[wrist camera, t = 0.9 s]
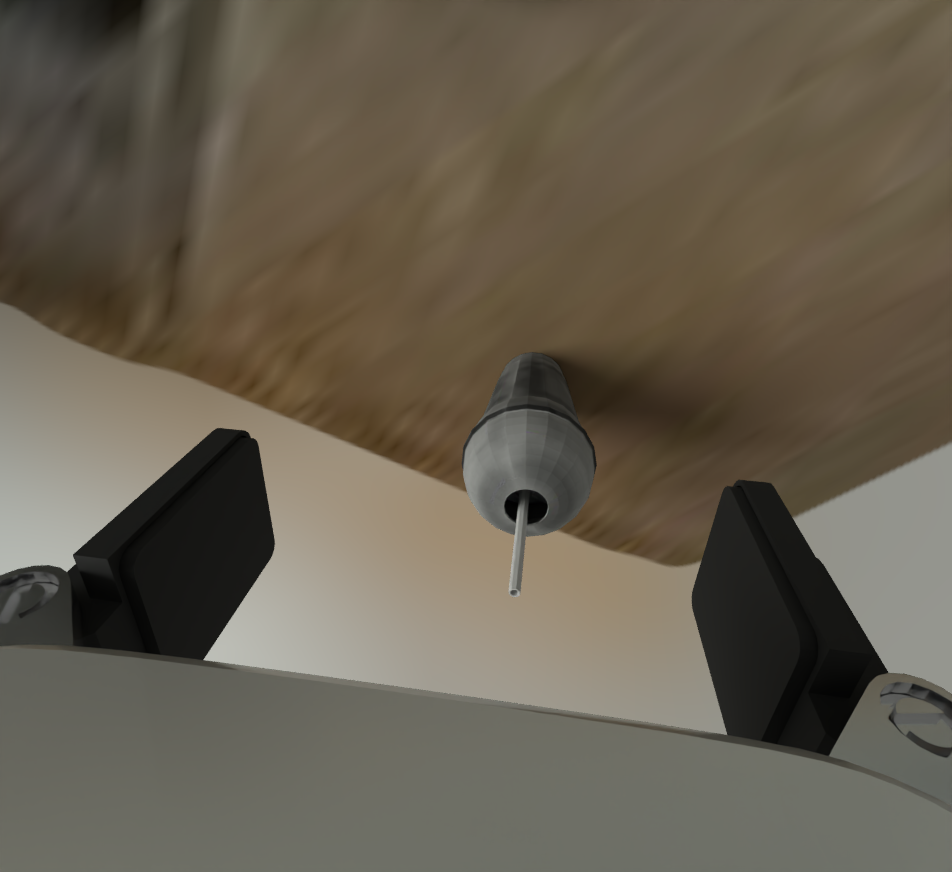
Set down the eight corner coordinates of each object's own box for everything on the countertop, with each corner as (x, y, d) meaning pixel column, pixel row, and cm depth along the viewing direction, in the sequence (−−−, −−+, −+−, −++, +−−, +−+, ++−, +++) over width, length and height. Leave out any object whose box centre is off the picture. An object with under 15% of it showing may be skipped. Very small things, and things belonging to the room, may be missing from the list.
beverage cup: (598, 350, 39) (642, 529, 22) (564, 438, 43) (577, 653, 25) (497, 320, 39) (458, 477, 21) (471, 411, 42) (418, 610, 25)
